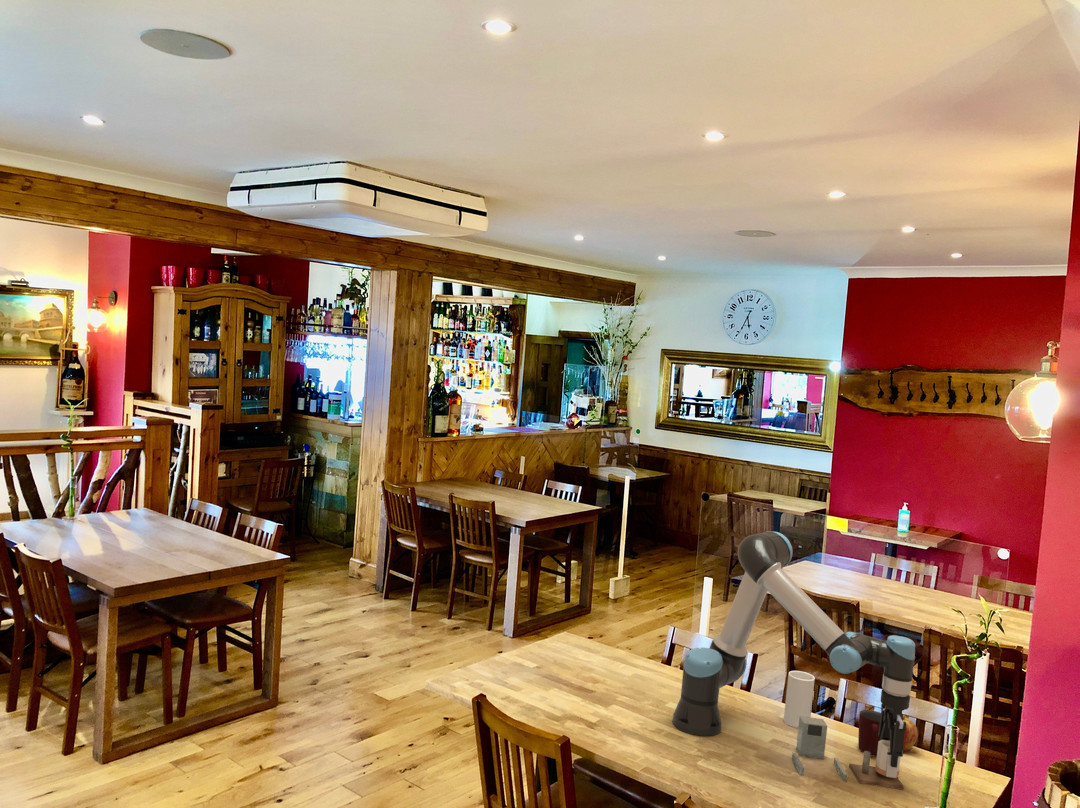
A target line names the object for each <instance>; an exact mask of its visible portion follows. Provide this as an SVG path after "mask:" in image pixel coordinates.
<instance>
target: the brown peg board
mask: <svg viewBox="0 0 1080 808" xmlns="http://www.w3.org/2000/svg"><path fill="white" fill-rule="evenodd" d="M871 756H872V755H871V753H870V752H869V751H864V753H863V758H862V764H857V763H849V764H848V765H849V766H848V767H849V769H850V770H851V773H852V774H853V775H854V777H855V779H856V780H857V782H858V783H859V784H863V785H868V786H876V785H877V786H878V787H883V786H885V787H884V788H890V787H893V788H892V789H897V788H903V789H904V788H905V787H904V786H905V785H903V783H902V782H901V780H900V778H899V776H897V777H896V778H892V777H886V776H884V775H882V774H880V773H878V772H877V771H876V770H875V766H871V765H870V763H871V762H870V761H871Z"/></svg>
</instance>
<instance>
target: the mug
mask: <svg viewBox="0 0 1080 808" xmlns="http://www.w3.org/2000/svg"><path fill="white" fill-rule="evenodd" d="M880 717H881V711H876V710H871V709H863V710H860V711H859V716H858V747H857V748H858V750H859V751H860V752H862V753H863V754H864V751H869V752H870V753H871V756H872V757H877V750H878V742H879V741H880V737H878V731H879V724H880Z"/></svg>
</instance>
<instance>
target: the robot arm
mask: <svg viewBox="0 0 1080 808" xmlns="http://www.w3.org/2000/svg"><path fill="white" fill-rule="evenodd" d="M793 553H794V552H793V546H792V544H791V542H790V540H789V539H788V537H786V535H784V534H782V533H781V532H778V531H770V530H769V531H768V530H767V531H766V530H765V531H764V532H761V533H755V534H749V535H748V536H746V537H744V538H743V540H741V542H740V543H739V545H738V548H737V558H738V561H739V562H738V563H740V565H741V567H742V569H743V571H744V574H743V576H742V579H741V581H740V583H739V586H738V588H737V592H736V594H735V596H734V599H733V601H732V604H731V607H730V608H729V611H728V613H727V616H726V619H725V621H724V624H723V626H722V629H721V631H720V634H717V635H715V636H714V637H713V638H712V640H711V643H710V646H709V647H700V648H699V647H694V648H691V649H690V650H688V651H687V652H686V654H685V656H684V660H683V663H682V664H683V671H682V680H681V691H680V692H681V693H680V697H679V701H678V703H677V705H676V707H675V709H674V712H673V714H672V724H673V725H674V727H676V728H677V729H678V730H680V731H682V732H685V733H688V734H691V735H694V736H700V737H701V736H703V737H706V736H707V737H709V736H710V737H711V736H716V735H718V734H719V733H721V731H722V719H721V715H720V710H719V705H718V704H719V695H720V689H721V688H723V687H725V686H727V685H730V684H731V683H735V682H737V681H738V680H739V679H740V678H741V677H743V675H744V674H745V672H746V669H747V665H748V664H747V659H746V658H747V655H748V649H747V648H746V645H747V642H748V640H749V637H750V635H751V633H752V630H753V628H754V625H755V623H756V621H757V617H758V616H759V613H760V610H761V608H762V605H763V603H764V601H765V598H766V597H767V596H766V595H767V594H768V592H769V593H770V594H771V596H772V597H773V598H774V599H775V600H776V601H777V602H778V603H779V604H780V605H781V606H782V607H783V608H784V609H785V610H786V611H787V613H788V614H789V615H790V616H792V618H793V619H794V620H795V621H796V622H797V623H798V624H799V625H800V626H801V627H802V628H803V630H805V632H806V633H808V635H810V637H811V638H813V640H814V641H815V643H817V644H818V645H819V646H820V647H821V649H823V650H824V651H825V652H826V654H827V655H828V657H829V662H830V665H831V667H832V668H833V669H834V670H835V671H837V672H838V673H840V674H844V675H845V674H850V673H854V672H856V671H858V670H859V669H860V668H862V667H864V666H866V665H867V664H870V665H873V666H877V667H880V668H883V674H882V683H881V688H882V689H881V693H880V702H881V704H880V713H881V717H880V724H879V731H878V737H880V740H889V741H890V752H887V754H888V759H887V768H886V777H892V778H896V777H898V776H897V768H898V760H899V757H901V758H903V756H904V751H903V746H904V735H905V728H906V722H903V717H904V716H903V711H905V710H908V709H909V708H910V703H911V702H910V701H911V696H910V694H911V690H912V686H913V685H914V683H913V681H912V680H913V673H914V666H915V659H916V656H915V655H916V643H915V642H914V641H913V640H912V639H911V638H908V637H905V636H902V635H901V636H900V635H895V634H893V635H889V636H888V637H887V639H886V640H883V639H879V638H876V637H873V636H869V635H865V634H862V633H861V632H854V631H847V632H846V633H845V632H844V631H843V630H842V629H841V628H840V627H839V626H838V625H837V624H836V623H835V622H834V621H833V620H832V618H830V616H829V615H827V614H826V612H825V611H823V610H822V608H820V607H819V605H817V603H815V602H814V600H813V599H812V598H810V596H809V595H808V594H807V593H806V592H805V591H804V590H803V589H802V588H801V587H800V586H799V585H798V584H797V583H796V582H795V581H794V580H793V579H792V578H791V576H789V575H788V573H786V572H785V571H784V570H783V568H784V567H786V566H788V564H790V562H791V560H792V558H793ZM894 726H895V727H894Z"/></svg>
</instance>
